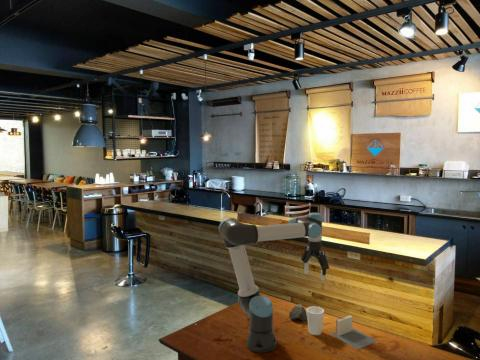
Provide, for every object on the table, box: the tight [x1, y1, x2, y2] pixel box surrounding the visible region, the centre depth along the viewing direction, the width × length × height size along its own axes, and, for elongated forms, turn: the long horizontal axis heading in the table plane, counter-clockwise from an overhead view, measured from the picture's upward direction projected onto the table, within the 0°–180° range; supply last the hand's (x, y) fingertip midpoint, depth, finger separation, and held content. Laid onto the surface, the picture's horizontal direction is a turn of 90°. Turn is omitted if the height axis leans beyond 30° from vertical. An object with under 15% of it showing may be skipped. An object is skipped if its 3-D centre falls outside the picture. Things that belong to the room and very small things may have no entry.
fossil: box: [288, 303, 308, 322], centre depth 219 cm, size 11×9×10 cm
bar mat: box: [330, 327, 378, 350], centre depth 195 cm, size 15×18×1 cm
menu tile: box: [335, 314, 354, 336], centre depth 200 cm, size 10×2×8 cm, turn 121°
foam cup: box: [305, 306, 325, 336], centre depth 200 cm, size 10×9×13 cm
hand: (314, 277), depth 213 cm, fingers open, 13 cm apart
